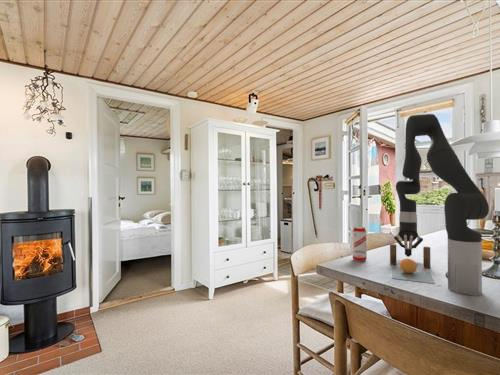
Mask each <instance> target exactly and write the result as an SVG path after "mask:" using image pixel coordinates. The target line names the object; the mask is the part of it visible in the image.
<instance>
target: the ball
mask: <svg viewBox="0 0 500 375" xmlns="http://www.w3.org/2000/svg"><path fill="white" fill-rule="evenodd" d="M399 268H400V270H402V271H403V272H405V273H407V274H412V273H414V272H415V271H417V269H418V268H417V263H416V261H415V260H413V259H411V258H403V259H402V260H401V261H400V263H399Z"/></svg>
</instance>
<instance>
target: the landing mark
mask: <svg viewBox="0 0 500 375" xmlns="http://www.w3.org/2000/svg"><path fill="white" fill-rule="evenodd" d="M391 279H393V280H399V281H400V280H402V281H410V282H415V283H422V284H423V283H424V284H430V285H431V284H432V285H436V283H435V280H434V277H433V275H432V273H431V272H426V271H424V272H423V271H418V270H416V271H415V272H414V273H412V274H407V273H405V272H403V271H402V270H401V269H397V268H391Z"/></svg>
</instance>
